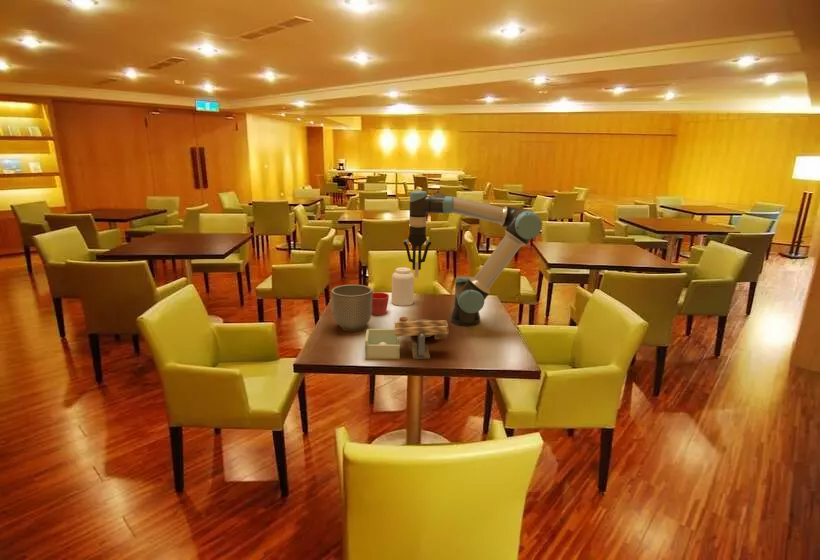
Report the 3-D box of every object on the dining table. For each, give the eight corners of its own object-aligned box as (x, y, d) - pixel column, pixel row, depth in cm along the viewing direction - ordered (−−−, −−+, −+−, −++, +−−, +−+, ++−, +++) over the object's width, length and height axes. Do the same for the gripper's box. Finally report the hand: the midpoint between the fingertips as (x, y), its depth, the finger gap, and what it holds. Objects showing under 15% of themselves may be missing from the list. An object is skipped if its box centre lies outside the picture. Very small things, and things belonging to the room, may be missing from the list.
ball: (379, 350, 192) (388, 347, 192) (379, 354, 188) (388, 351, 188) (376, 342, 191) (385, 339, 191) (376, 346, 187) (385, 343, 187)
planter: (336, 320, 226) (335, 283, 221) (375, 321, 226) (375, 284, 221) (327, 335, 207) (326, 295, 202) (370, 336, 207) (370, 296, 202)
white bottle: (389, 305, 250) (389, 270, 245) (393, 298, 262) (394, 265, 257) (411, 307, 248) (412, 271, 243) (415, 300, 260) (416, 266, 255)
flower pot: (392, 311, 240) (393, 294, 238) (380, 317, 231) (380, 299, 229) (376, 308, 246) (376, 291, 243) (364, 313, 237) (364, 296, 234)
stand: (427, 346, 197) (428, 322, 194) (430, 358, 185) (430, 333, 182) (411, 346, 197) (412, 322, 194) (412, 358, 185) (413, 333, 182)
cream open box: (399, 346, 197) (399, 329, 195) (399, 359, 184) (399, 341, 182) (366, 346, 196) (366, 329, 194) (365, 359, 184) (365, 340, 182)
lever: (443, 323, 204) (443, 311, 202) (448, 339, 186) (448, 326, 184) (394, 325, 203) (394, 313, 202) (395, 341, 185) (394, 328, 184)
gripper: (431, 224, 207) (429, 274, 213) (402, 224, 206) (402, 274, 212) (432, 227, 199) (431, 278, 206) (403, 226, 199) (402, 278, 205)
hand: (416, 276), depth 209 cm, fingers closed
